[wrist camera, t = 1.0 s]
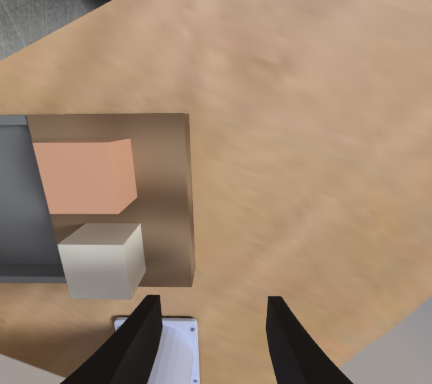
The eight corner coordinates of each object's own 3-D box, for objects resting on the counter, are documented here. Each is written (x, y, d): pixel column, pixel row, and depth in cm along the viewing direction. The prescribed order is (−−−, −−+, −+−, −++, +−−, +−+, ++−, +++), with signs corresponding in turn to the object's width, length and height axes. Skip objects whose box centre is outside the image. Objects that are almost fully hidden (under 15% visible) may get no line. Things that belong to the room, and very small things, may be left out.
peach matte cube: (137, 197, 16) (118, 213, 13) (81, 197, 16) (49, 213, 13) (130, 138, 15) (107, 142, 12) (69, 138, 15) (32, 142, 12)
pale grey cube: (146, 270, 18) (131, 299, 15) (95, 269, 18) (70, 298, 15) (140, 223, 16) (123, 245, 13) (86, 223, 16) (57, 244, 14)
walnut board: (195, 267, 20) (191, 287, 18) (85, 266, 21) (67, 285, 18) (188, 114, 16) (183, 113, 14) (54, 115, 17) (26, 114, 14)
